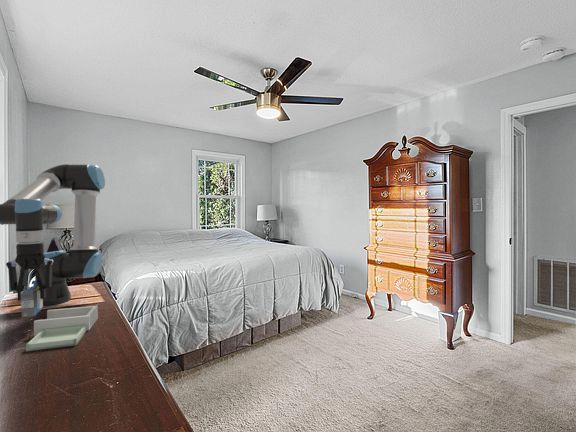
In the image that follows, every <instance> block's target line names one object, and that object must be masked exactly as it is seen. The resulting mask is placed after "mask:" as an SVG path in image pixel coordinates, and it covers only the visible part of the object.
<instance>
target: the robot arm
mask: <svg viewBox="0 0 576 432" xmlns="http://www.w3.org/2000/svg"><path fill="white" fill-rule="evenodd" d="M105 186H106V180H105V176H104V172H103V170H102V169H101V167H100V166H98V165H96V164H88V163H87V164H70V163H69V164H67V163H66V164H65V163H64V164H59V165H56V166H52V167H50V168H47V169H46V170H44V171H43V172H41V173H39V174H38V175H37V176H36V179H35V180H34V181H33V182H31V183H30V184H28V185H27V186H26V187H23V189H21V190H20V191H19V192H17V193H15V195H13V196H11V197H10V198H9V199H7V200H6V201H5V202H3V203H0V226H1V225H15V242H16V243H17V244H15V246H16V247H15V249H16V257H15V259H14V260H11V261H8V262H6V263H5V265H6V267H7V269H8V278H9V289H10V290H11V291H14V292H17V295H16V296H17V300H18V301H20V302H21V294H22V293H23V292H24V291H26V290H27V289H25V285H26V280H27V275H28V271H29V270H32V271H33V272H34V277H35V279H34V280H36V279H37V283H38V286H39V290H37V309H40V308H42V309H43V307H44V306H53V305H58V304H62V303H65V302H68V301H70V300H71V299H72V294H71V291H70V288H69V286H68V284H67V279H87V278H94V277H97V275H99V273H100V271H101V269H102V266H103V259H104V258H103V254H102V252H100V251H99V248H98V247H96V245H95V242H96V241H95V239H96V237H95V236H96V214H97V213H96V212H97V211H96V209H97V207H96V206H97V196H98V195H100V193H101V190H103V189H104V188H105ZM65 189H67V190H69V189H70V190H71V192H72V194H74V215H73V217H74V218H73V241H72V243H73V244H72V247H70V248H69V250H68V253H67V251H66V250H65V249H62V250H61V251H54V252H48V253H46V252H44V251H45V250H44V247H45V246H44V245H45V244H44V243H43V241H44V225H51V224H54V223H57V222H59V221H60V220H61V218H62V214H63V213H62V210H61V208H60V207H59V206H58V205H56V204H52V203H43V200H44V199H45V198H47V197H48V196H49V195H50V194H51V193H55V192H57V191H59V190H65ZM17 265H18V266H19V267H20V270H19V272H20V273H19V276H17V275H18V274H17ZM18 277H19V278H18ZM37 283H36V284H37Z"/></svg>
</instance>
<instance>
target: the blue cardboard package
mask: <svg viewBox="0 0 576 432" xmlns="http://www.w3.org/2000/svg"><path fill="white" fill-rule="evenodd" d="M36 283H37V279H36V280H35V279H34V280H33V285H32V286H30V287H29V288H27V289H25V290H26V291H24V292H23V293H22V294H21V301H20V309H21V318H22V319H24V318H30V317H31V318H32V317H35V316H36V315H37V314H38V313H39V312H40V311H41V310H42V309H43V307H42V308H40V309H37V290H39V286H38V283H37V284H36Z"/></svg>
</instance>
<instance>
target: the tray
mask: <svg viewBox="0 0 576 432" xmlns="http://www.w3.org/2000/svg"><path fill="white" fill-rule="evenodd" d="M87 331H88V330H87V325H84V326H74V327H64V328H55V329H45V330H42V331H40V332H39V333H38V334H37V335H36V336H34V337H33V338H32V339H30V340H29V341H28V342H27V343H25V352H32V351H41V350H47V349H56V348H63V347H72V346H74V347H75V346H77V345H78V343H79V342H80V341H81V339H82V338H83V337H84V335H85V334H86V333H87Z"/></svg>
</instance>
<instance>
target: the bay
mask: <svg viewBox="0 0 576 432" xmlns="http://www.w3.org/2000/svg"><path fill="white" fill-rule="evenodd" d="M98 309H99V308H98V305H89V306H79V307H69V308H68V307H67V308H66V307H65V308H57V309H55V308H54V309H47V311H46V317H47V318H45V319H37V320H36V319H35V320H33V336H34V337H35V336H36V335H37V334H38V333H39V332H40V331H42V330H45V329H55V328H64V327H74V326H84V325H87V331H90V330H91V328H92V327H93V326H94V324H95V322H96V321H97V320H98V316H99V314H98V313H99V312H98V311H99V310H98Z"/></svg>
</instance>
